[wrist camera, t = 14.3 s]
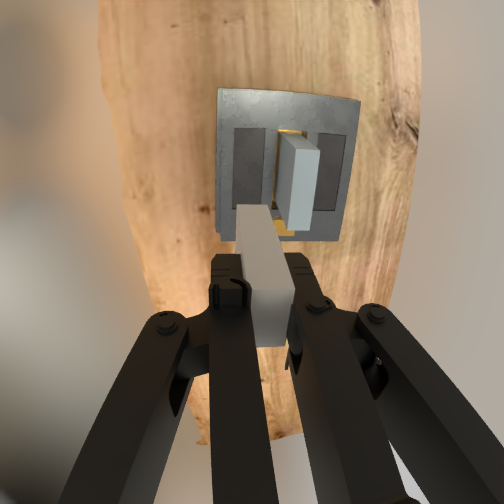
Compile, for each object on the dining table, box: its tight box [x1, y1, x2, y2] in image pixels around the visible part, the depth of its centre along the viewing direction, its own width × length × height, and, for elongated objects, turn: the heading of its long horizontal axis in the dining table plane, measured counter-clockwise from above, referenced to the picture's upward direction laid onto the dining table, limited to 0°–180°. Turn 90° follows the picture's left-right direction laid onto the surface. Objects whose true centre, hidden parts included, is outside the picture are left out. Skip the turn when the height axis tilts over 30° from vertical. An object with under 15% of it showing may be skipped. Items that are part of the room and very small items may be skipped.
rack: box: [216, 88, 361, 241], centre depth 39 cm, size 20×18×4 cm
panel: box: [273, 131, 320, 231], centre depth 36 cm, size 9×2×10 cm, turn 177°
